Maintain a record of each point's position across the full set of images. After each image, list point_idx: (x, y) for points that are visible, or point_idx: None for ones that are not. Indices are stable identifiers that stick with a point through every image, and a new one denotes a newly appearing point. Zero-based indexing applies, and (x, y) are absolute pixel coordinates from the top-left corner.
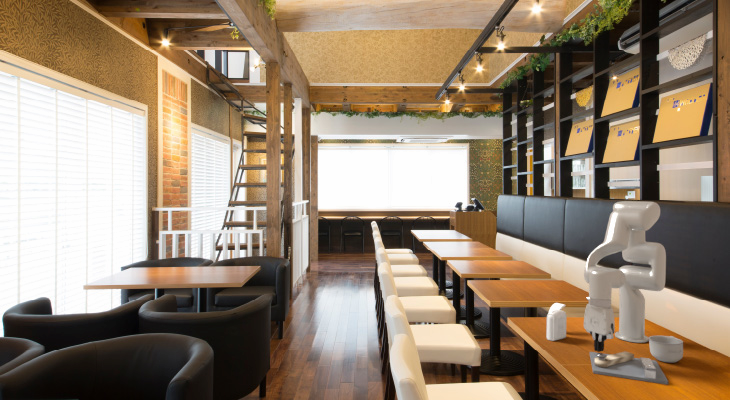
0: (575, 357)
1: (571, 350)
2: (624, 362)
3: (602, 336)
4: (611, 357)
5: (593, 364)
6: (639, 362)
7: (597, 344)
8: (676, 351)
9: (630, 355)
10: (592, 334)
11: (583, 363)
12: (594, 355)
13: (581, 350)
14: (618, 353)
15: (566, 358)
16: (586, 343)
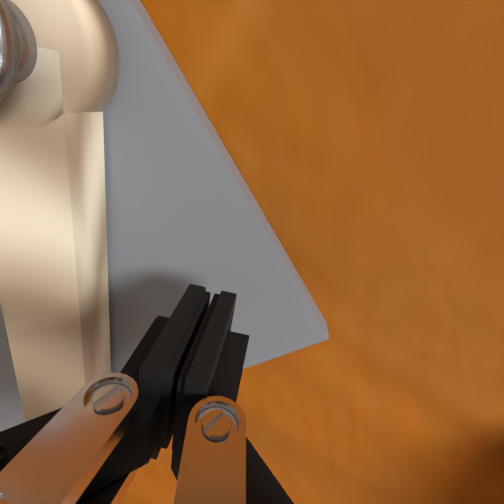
0: (390, 141)
1: (489, 299)
2: None
3: (17, 472)
4: (21, 222)
5: (115, 2)
6: (12, 372)
7: (171, 335)
8: None
9: (22, 393)
10: (238, 493)
11: (251, 30)
12: (254, 280)
13: (412, 357)
14: (75, 368)
15: (464, 4)
16: (433, 495)
